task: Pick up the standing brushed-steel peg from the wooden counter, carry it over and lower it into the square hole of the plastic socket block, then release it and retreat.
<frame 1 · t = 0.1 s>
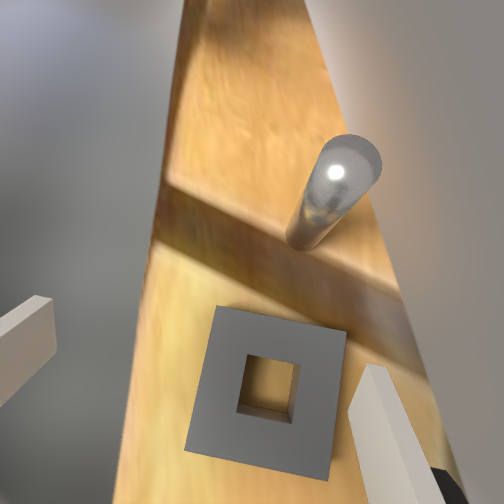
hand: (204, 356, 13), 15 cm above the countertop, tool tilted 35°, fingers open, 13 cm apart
steel peg: (302, 234, 30), on the countertop
socket block: (266, 381, 27), on the countertop
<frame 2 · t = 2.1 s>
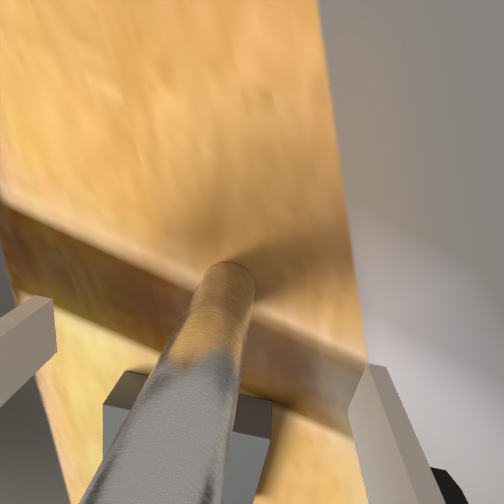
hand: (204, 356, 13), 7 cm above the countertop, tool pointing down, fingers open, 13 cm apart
steel peg: (228, 287, 19), on the countertop
socket block: (190, 438, 24), on the countertop
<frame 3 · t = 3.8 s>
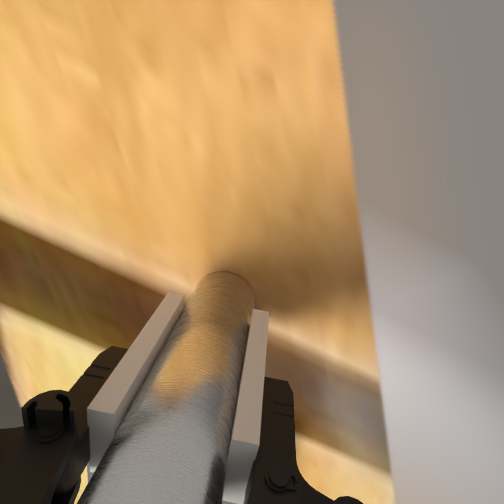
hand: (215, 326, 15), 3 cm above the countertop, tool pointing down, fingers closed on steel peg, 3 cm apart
steel peg: (224, 299, 17), on the countertop, touching gripper
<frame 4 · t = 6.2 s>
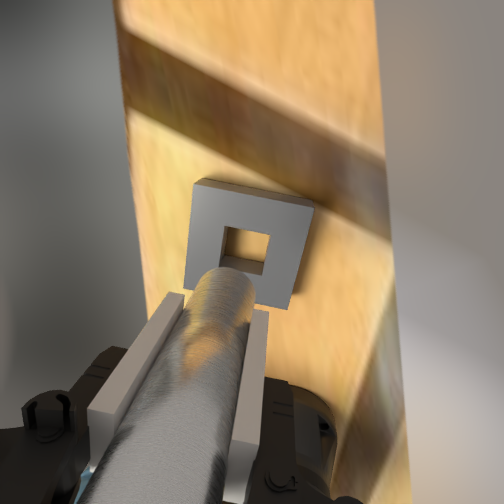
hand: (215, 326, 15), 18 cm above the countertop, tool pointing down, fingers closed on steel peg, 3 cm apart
steel peg: (226, 294, 18), point 15 cm above the countertop, touching gripper
socket block: (247, 240, 32), on the countertop
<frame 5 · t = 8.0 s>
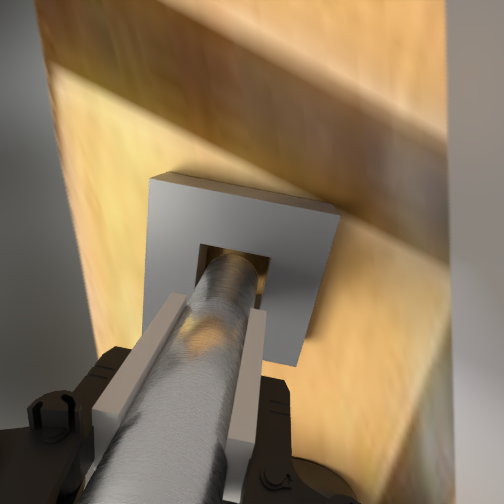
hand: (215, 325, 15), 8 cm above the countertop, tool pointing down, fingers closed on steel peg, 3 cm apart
steel peg: (231, 278, 19), point 3 cm above the countertop, touching gripper
socket block: (236, 263, 22), on the countertop
when the fingers open (4 cm above the countertop, at t = 8.9 s): steel peg stays where it is, resting in socket block.
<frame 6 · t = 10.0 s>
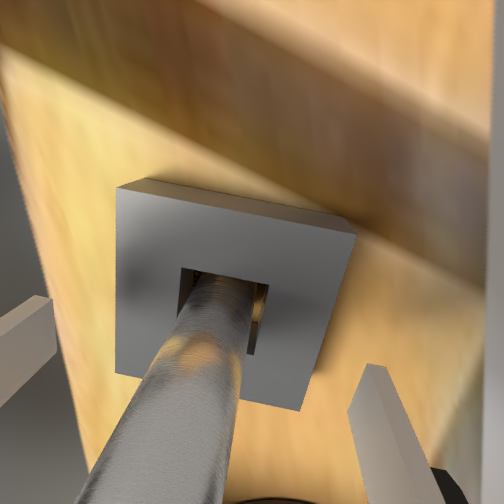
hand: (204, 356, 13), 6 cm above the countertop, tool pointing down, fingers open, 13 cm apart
steel peg: (229, 282, 18), resting in socket block
socket block: (228, 286, 18), on the countertop
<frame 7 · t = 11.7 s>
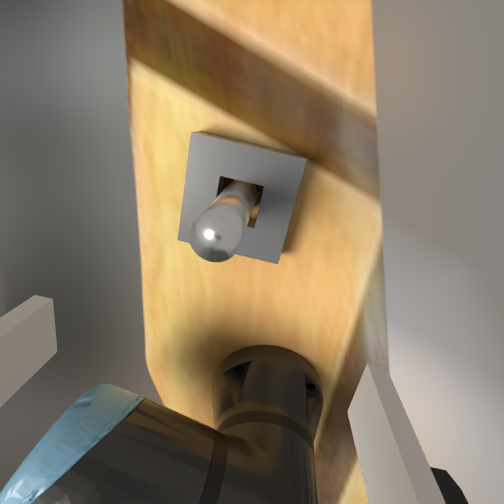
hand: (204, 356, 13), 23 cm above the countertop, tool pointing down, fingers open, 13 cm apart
steel peg: (241, 194, 33), resting in socket block
socket block: (241, 196, 33), on the countertop
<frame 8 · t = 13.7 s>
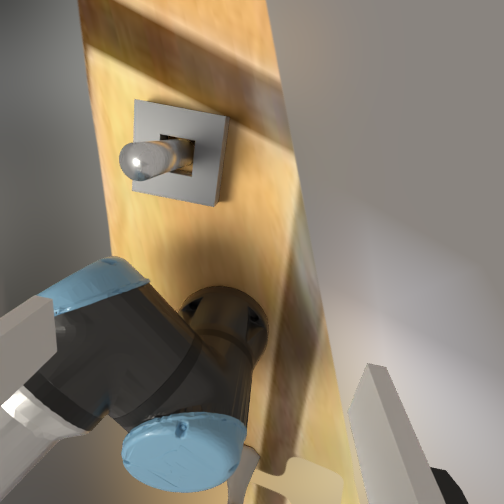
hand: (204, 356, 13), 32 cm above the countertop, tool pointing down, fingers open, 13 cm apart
steel peg: (183, 152, 41), resting in socket block
socket block: (183, 154, 41), on the countertop
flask: (241, 454, 62), on the countertop
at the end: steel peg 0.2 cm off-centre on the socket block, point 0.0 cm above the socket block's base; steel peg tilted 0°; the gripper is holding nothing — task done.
